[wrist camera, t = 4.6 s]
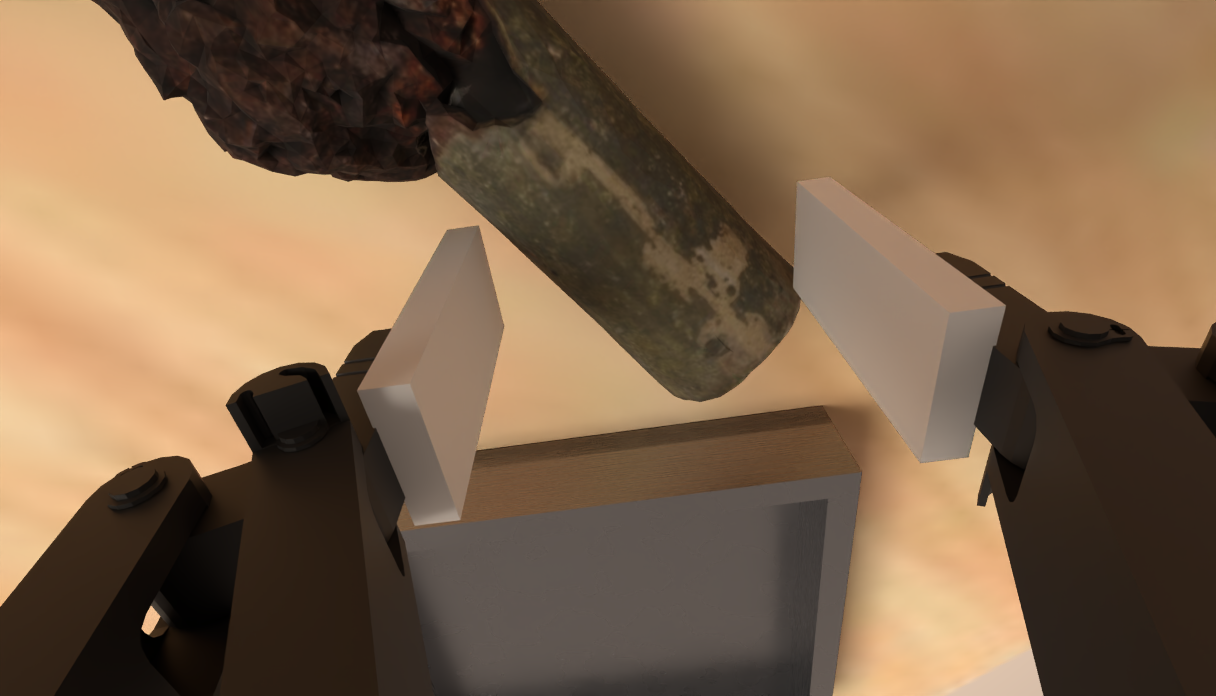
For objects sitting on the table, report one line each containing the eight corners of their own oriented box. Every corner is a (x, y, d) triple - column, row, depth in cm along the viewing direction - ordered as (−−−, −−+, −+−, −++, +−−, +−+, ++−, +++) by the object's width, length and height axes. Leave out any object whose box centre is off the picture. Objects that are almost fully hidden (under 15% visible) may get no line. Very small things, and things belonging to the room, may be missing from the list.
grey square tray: (316, 472, 22) (276, 547, 19) (822, 405, 22) (862, 472, 19) (450, 730, 32) (437, 806, 29) (800, 688, 32) (823, 761, 29)
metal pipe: (782, 248, 18) (849, 350, 13) (617, 374, 20) (621, 500, 15) (223, -419, 11) (-85, -734, 6) (74, -98, 13) (-227, -137, 8)
